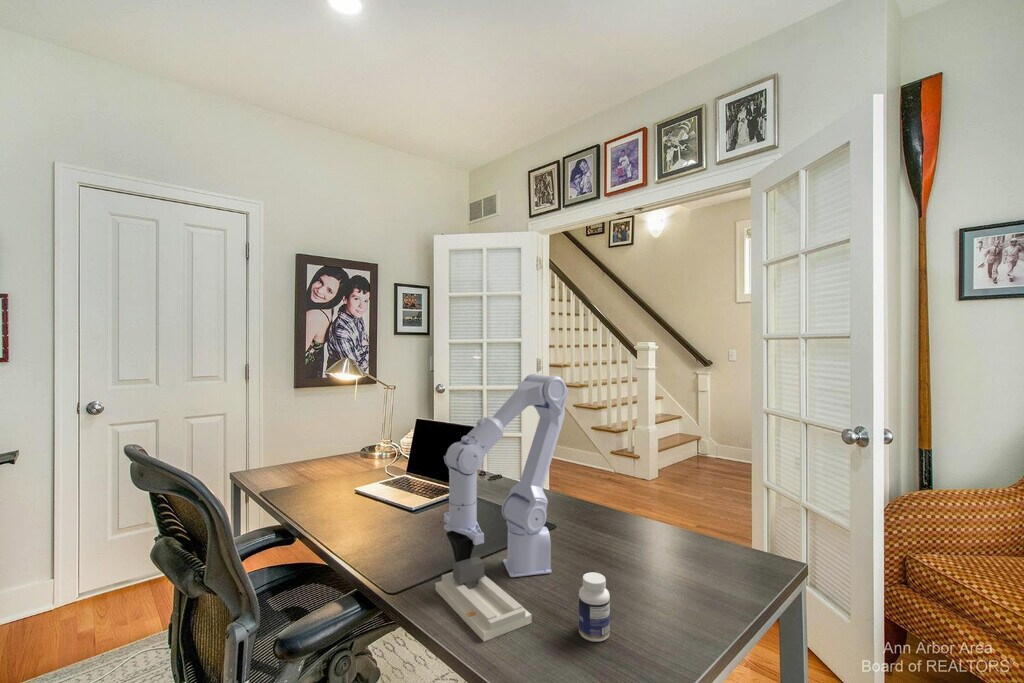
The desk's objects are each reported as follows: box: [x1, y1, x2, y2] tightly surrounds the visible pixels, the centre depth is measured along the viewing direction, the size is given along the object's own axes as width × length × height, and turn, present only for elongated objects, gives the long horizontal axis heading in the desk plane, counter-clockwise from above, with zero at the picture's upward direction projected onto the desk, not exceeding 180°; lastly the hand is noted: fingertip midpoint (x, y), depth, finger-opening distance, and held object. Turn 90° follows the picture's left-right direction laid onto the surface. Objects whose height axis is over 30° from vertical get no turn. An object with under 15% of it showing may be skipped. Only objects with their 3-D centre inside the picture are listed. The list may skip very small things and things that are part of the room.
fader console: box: [435, 571, 533, 642], centre depth 91 cm, size 20×10×3 cm, turn 33°
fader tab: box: [452, 556, 486, 588], centre depth 95 cm, size 3×6×5 cm, turn 123°
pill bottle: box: [578, 571, 611, 643], centre depth 82 cm, size 5×5×10 cm
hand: (462, 567), depth 97 cm, fingers closed
